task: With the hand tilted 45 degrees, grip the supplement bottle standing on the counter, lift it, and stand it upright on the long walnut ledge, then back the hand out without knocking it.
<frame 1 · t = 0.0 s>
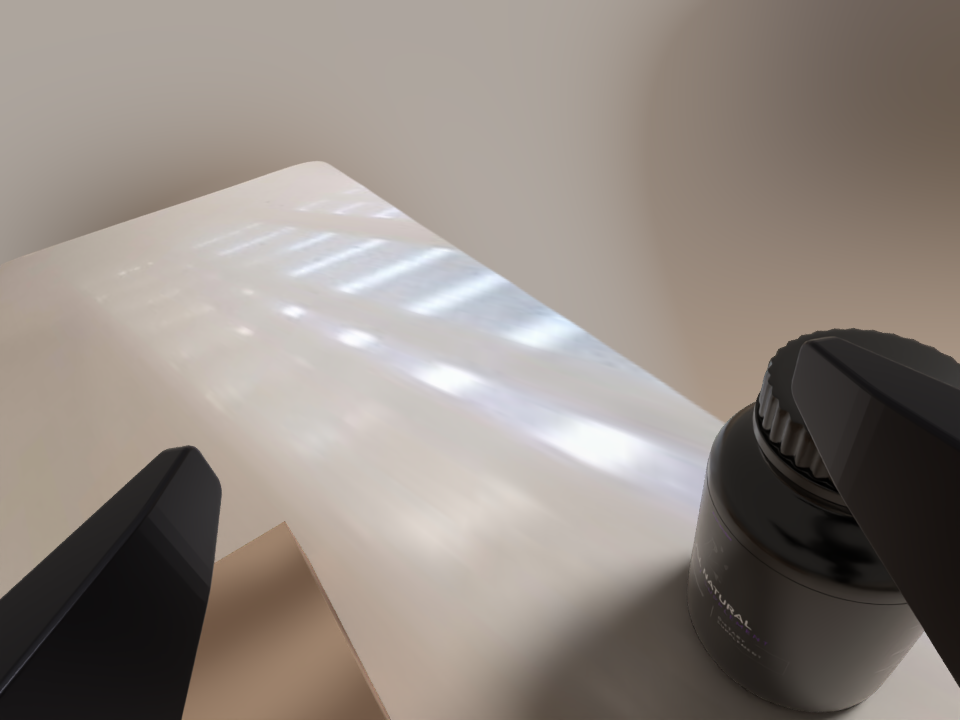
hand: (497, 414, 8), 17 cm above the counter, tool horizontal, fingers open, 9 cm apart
supplement bottle: (781, 622, 22), on the counter
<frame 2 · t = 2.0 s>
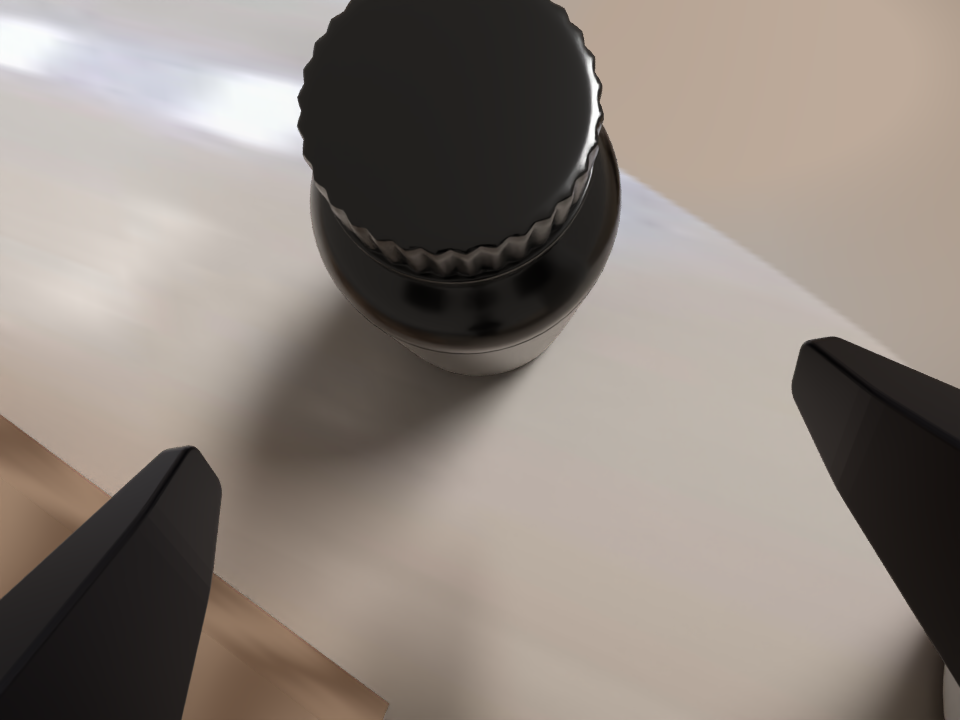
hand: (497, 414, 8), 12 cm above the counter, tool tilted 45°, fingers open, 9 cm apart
supplement bottle: (481, 286, 21), on the counter
walnut ledge: (81, 641, 20), on the counter
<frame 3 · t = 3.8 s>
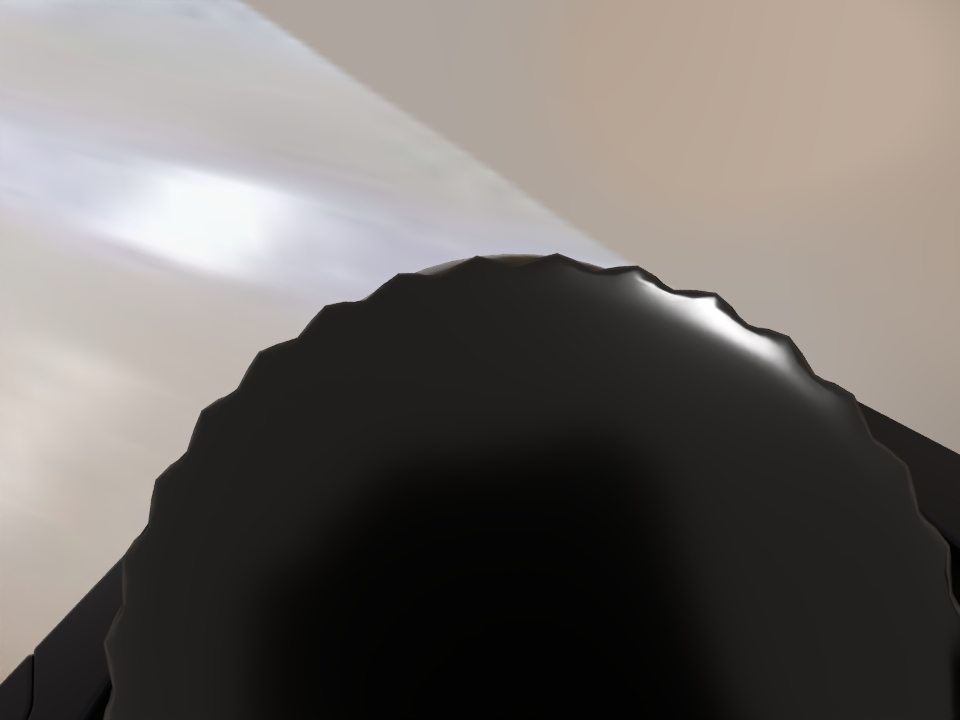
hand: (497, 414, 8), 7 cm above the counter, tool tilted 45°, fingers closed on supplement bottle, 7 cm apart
supplement bottle: (509, 469, 15), on the counter, touching gripper
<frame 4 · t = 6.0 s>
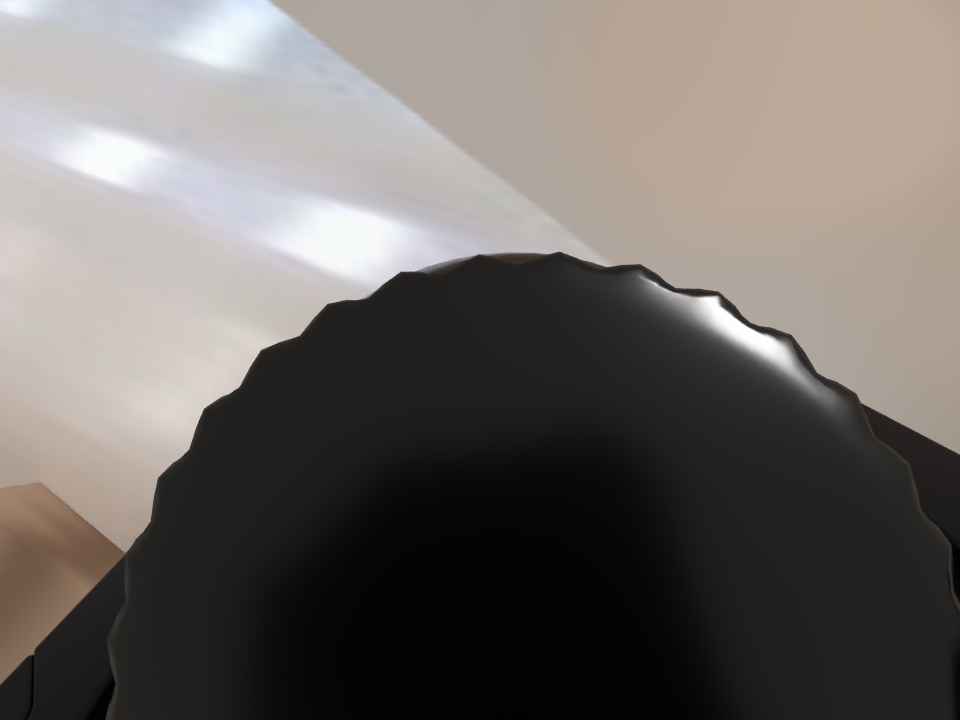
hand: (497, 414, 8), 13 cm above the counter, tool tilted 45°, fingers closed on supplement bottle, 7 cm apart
supplement bottle: (509, 468, 15), point 6 cm above the counter, touching gripper
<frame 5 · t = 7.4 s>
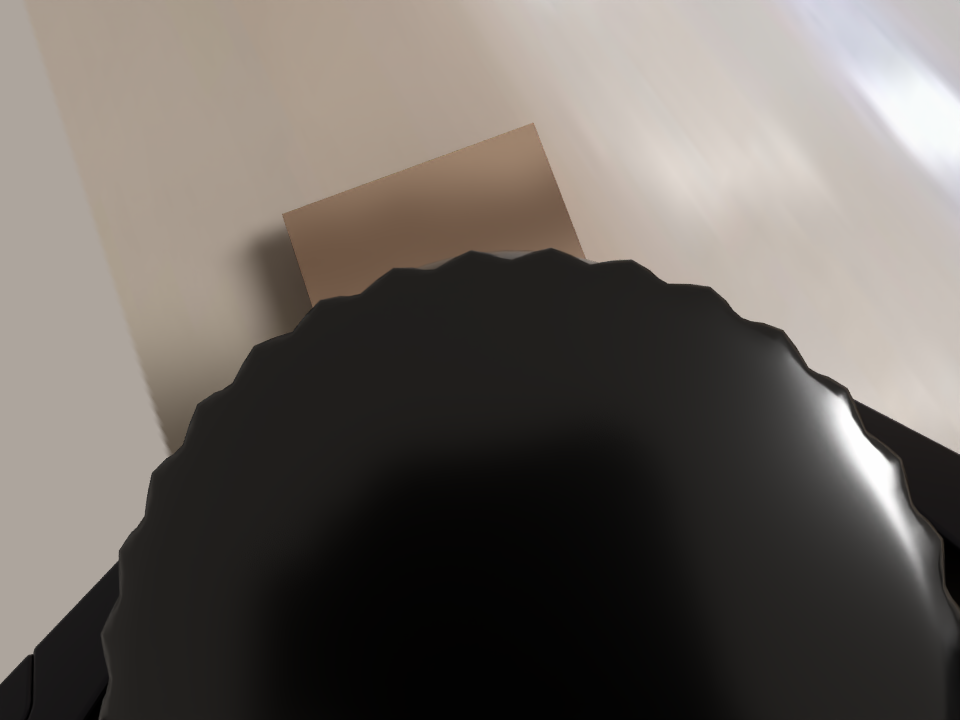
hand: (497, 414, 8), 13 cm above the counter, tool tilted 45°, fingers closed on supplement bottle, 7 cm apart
supplement bottle: (509, 466, 15), point 6 cm above the counter, touching gripper
walnut ledge: (508, 446, 21), on the counter
when the fingers open (11 cm above the counter, at t = 8.3 s): supplement bottle drops 1 cm, resting on walnut ledge.
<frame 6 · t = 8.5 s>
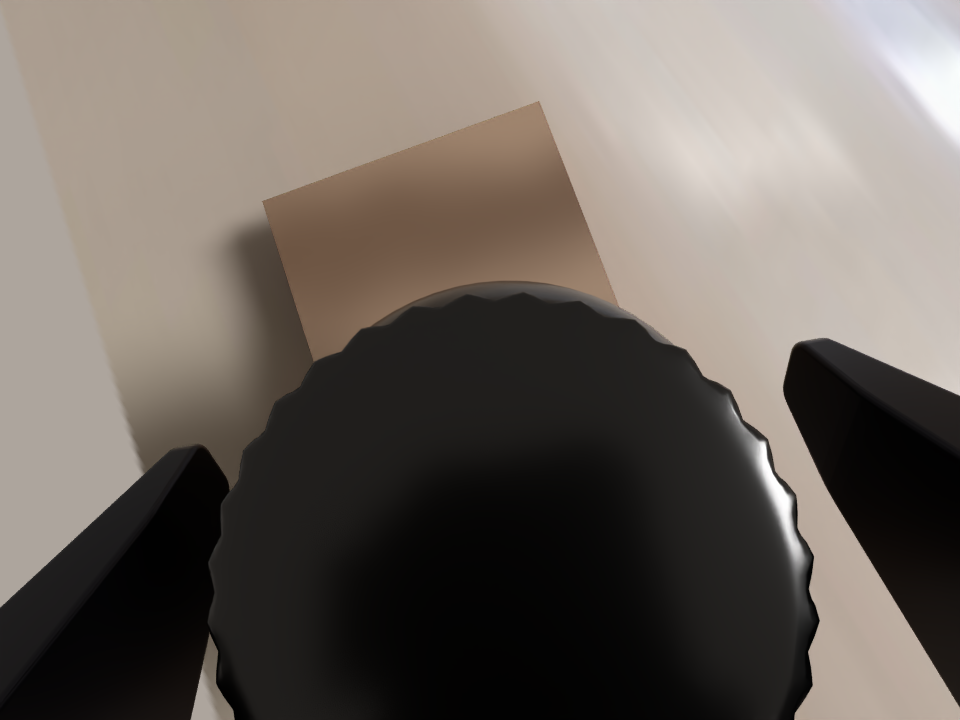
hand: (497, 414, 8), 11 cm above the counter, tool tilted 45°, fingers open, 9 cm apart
supplement bottle: (512, 470, 16), point 3 cm above the counter, touching walnut ledge
walnut ledge: (510, 457, 19), on the counter
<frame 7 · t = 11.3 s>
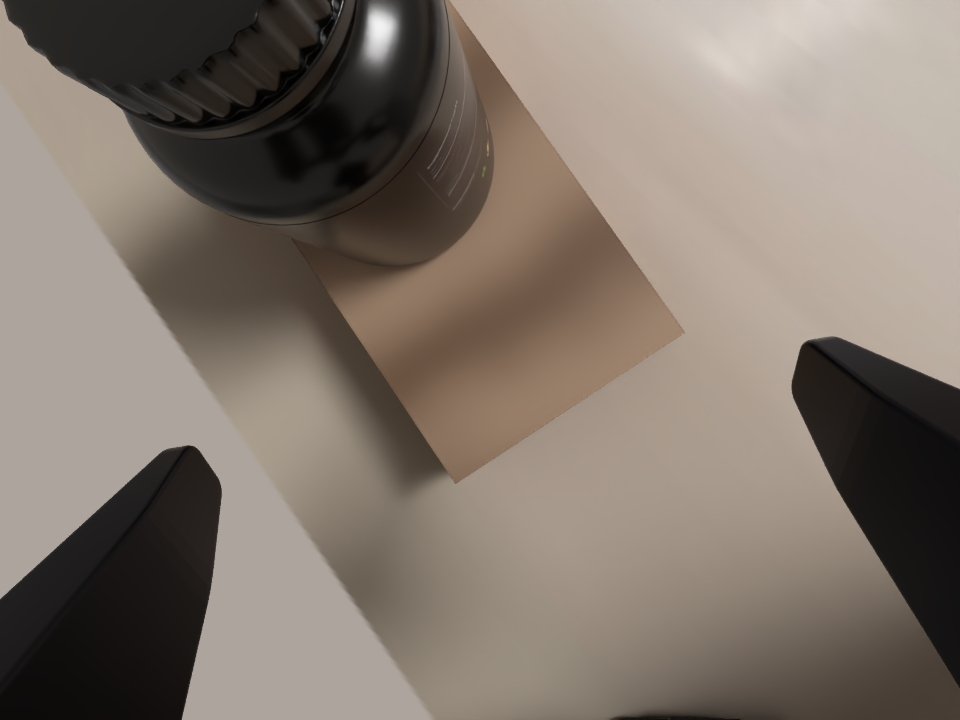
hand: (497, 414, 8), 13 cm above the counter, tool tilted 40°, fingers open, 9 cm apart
supplement bottle: (401, 171, 19), point 3 cm above the counter, touching walnut ledge
walnut ledge: (420, 188, 22), on the counter
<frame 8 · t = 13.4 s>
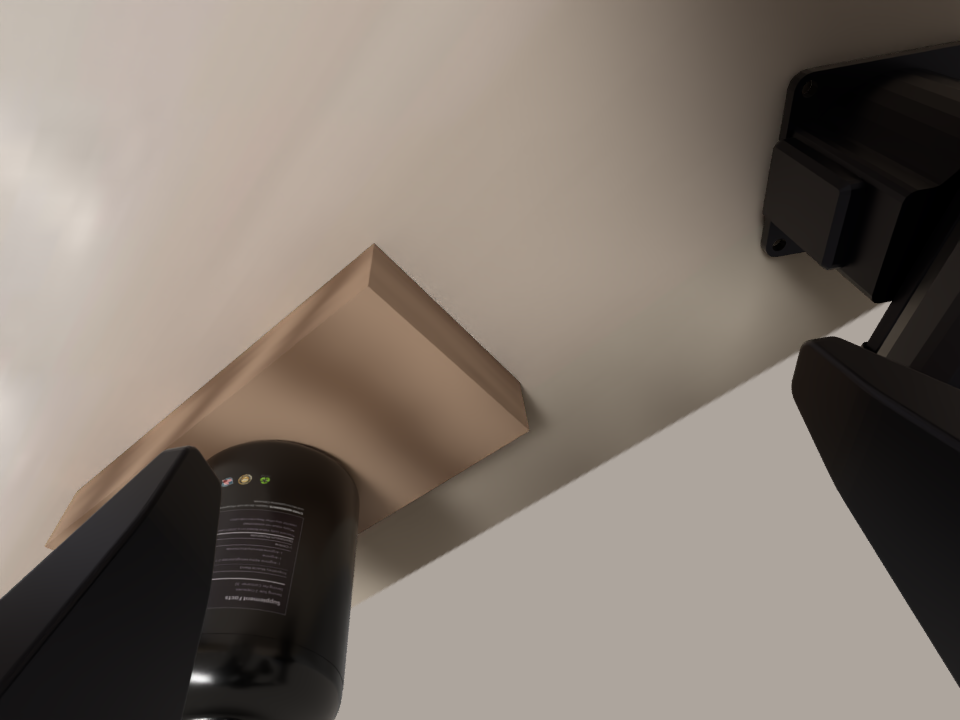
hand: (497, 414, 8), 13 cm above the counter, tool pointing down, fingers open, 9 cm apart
supplement bottle: (280, 485, 24), point 3 cm above the counter, touching walnut ledge
walnut ledge: (289, 439, 26), on the counter
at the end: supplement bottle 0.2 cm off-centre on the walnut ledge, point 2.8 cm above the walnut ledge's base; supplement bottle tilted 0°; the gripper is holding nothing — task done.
